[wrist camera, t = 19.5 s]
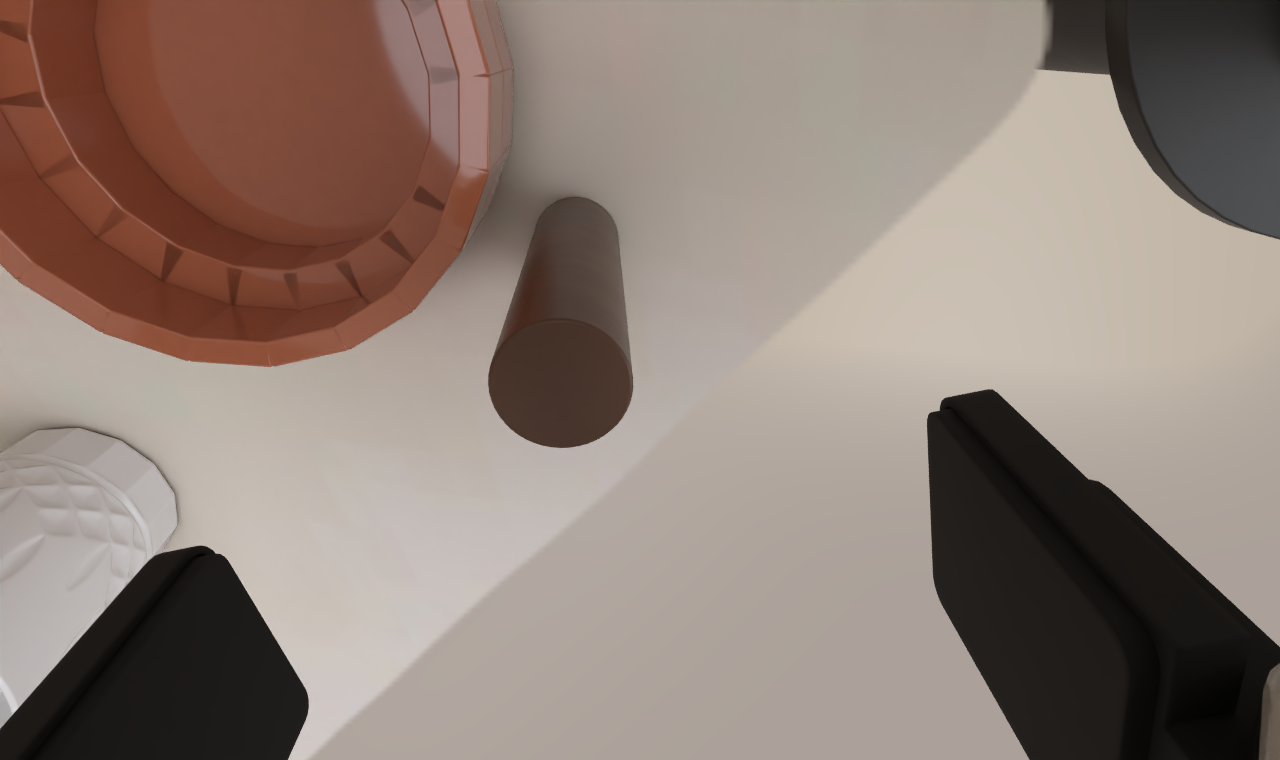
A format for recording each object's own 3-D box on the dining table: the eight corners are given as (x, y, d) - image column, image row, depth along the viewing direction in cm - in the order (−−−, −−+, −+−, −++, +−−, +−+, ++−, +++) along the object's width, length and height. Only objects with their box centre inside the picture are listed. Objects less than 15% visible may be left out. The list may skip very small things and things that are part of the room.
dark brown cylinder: (607, 188, 25) (615, 304, 14) (626, 269, 26) (646, 433, 15) (524, 207, 25) (468, 337, 14) (546, 287, 26) (511, 461, 16)
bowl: (426, -266, 19) (361, -383, 14) (564, 248, 26) (555, 305, 20) (-75, -135, 20) (-323, -198, 15) (179, 335, 26) (72, 412, 21)
